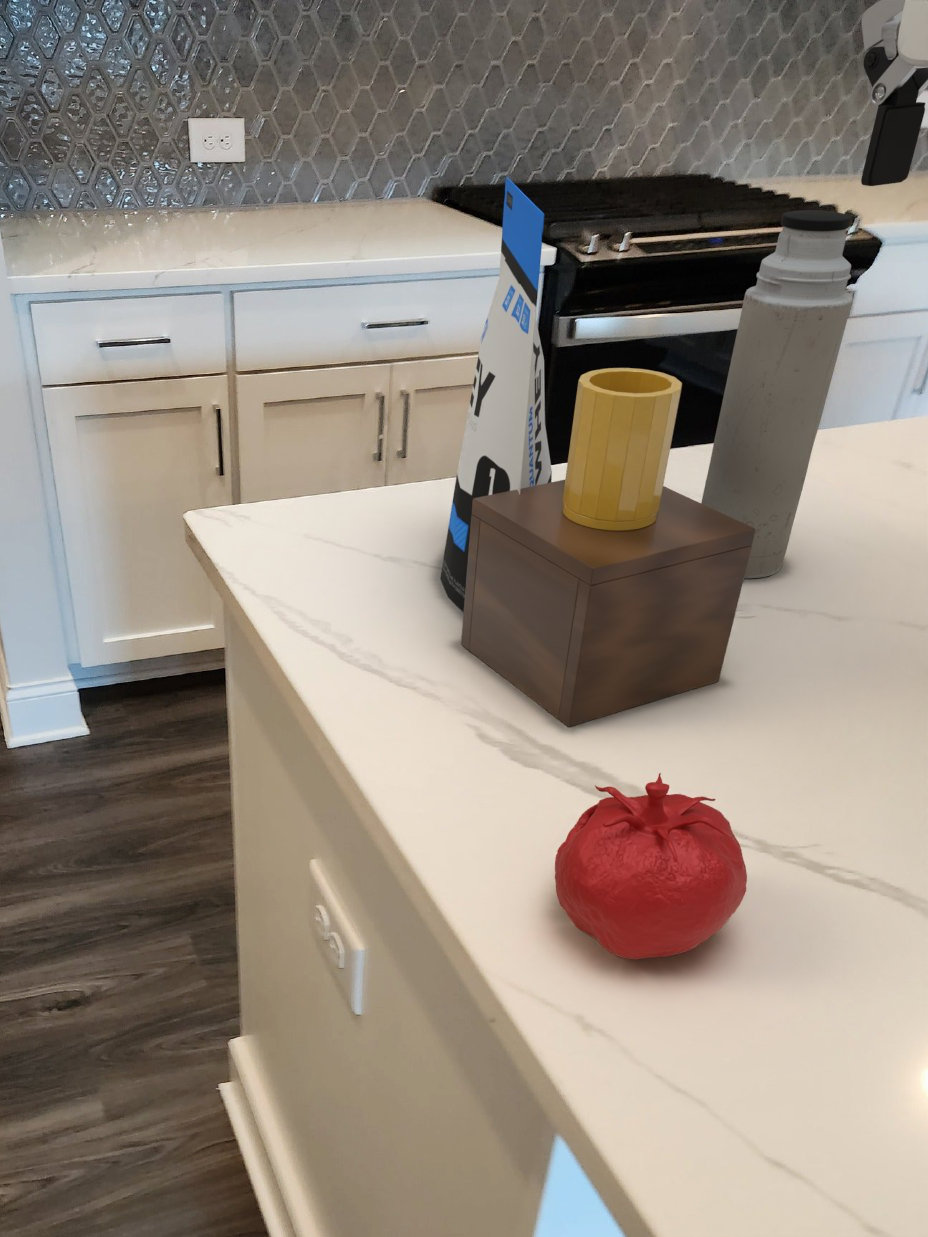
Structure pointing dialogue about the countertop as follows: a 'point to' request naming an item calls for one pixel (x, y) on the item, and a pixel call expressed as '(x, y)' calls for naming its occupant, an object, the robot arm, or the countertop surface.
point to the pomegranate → (650, 872)
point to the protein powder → (503, 391)
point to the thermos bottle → (780, 382)
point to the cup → (620, 447)
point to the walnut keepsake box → (601, 600)
